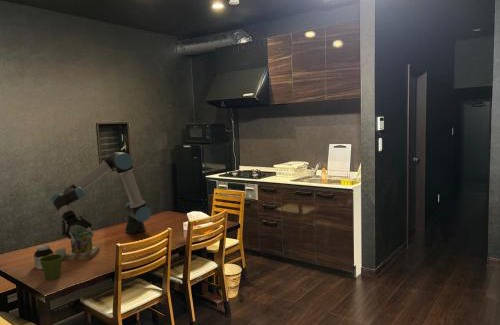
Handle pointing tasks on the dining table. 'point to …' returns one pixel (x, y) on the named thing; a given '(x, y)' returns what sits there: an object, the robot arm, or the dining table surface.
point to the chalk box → (81, 241)
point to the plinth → (82, 254)
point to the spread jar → (41, 254)
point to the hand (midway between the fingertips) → (83, 238)
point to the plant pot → (51, 265)
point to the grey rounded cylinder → (61, 252)
